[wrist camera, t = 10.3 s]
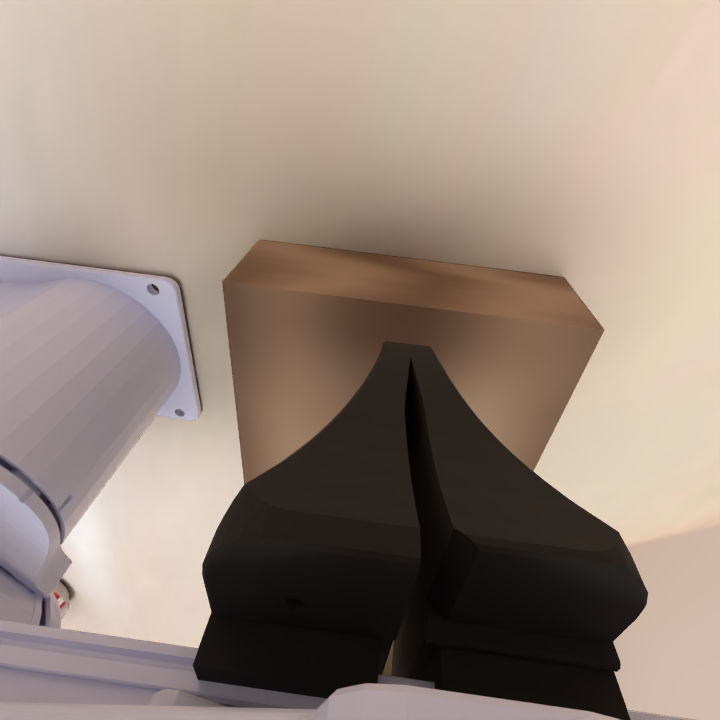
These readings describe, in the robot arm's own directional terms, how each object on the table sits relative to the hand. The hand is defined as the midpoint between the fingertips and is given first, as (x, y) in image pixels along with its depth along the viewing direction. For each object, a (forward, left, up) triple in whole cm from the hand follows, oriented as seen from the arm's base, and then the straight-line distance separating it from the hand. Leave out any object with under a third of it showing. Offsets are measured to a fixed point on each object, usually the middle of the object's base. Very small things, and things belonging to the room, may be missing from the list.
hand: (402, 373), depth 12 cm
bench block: (0, -5, -6) cm, 8 cm away
